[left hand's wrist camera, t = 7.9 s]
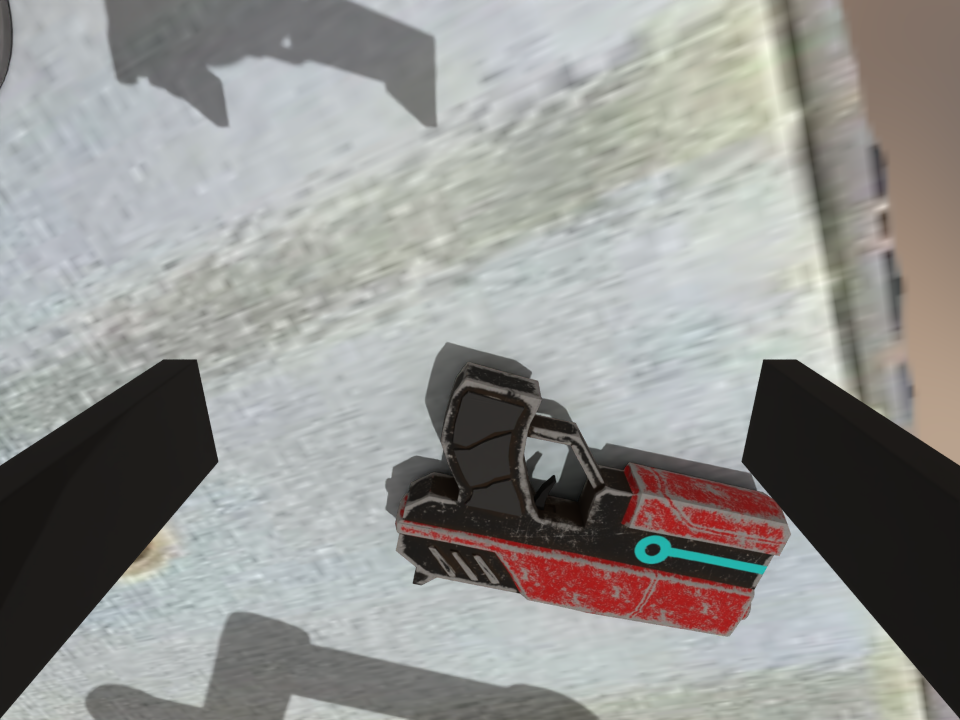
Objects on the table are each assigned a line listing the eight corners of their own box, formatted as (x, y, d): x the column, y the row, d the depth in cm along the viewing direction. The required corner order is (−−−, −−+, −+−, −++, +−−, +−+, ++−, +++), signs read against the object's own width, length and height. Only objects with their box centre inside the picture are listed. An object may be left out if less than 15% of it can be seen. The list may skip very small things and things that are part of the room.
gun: (424, 374, 36) (382, 584, 43) (847, 466, 38) (737, 651, 45) (432, 350, 40) (391, 545, 47) (811, 433, 42) (716, 608, 49)
